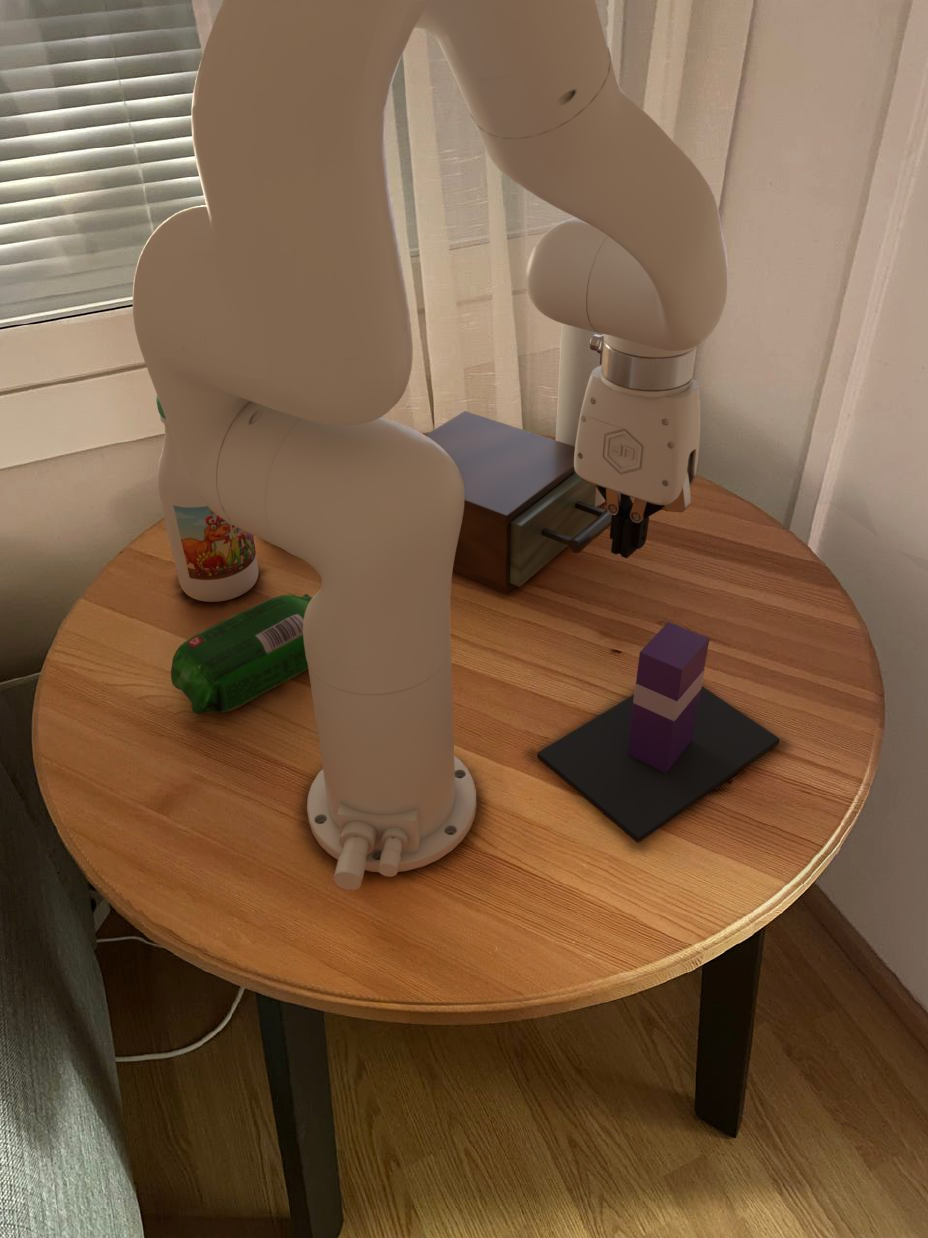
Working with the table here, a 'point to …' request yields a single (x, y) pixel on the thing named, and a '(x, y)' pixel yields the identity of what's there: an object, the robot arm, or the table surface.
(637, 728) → the snack carton
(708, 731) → the mat
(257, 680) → the snack package
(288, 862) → the table surface
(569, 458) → the cabinet
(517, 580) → the drawer
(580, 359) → the paper towel roll
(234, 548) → the milk bottle
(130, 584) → the table surface
